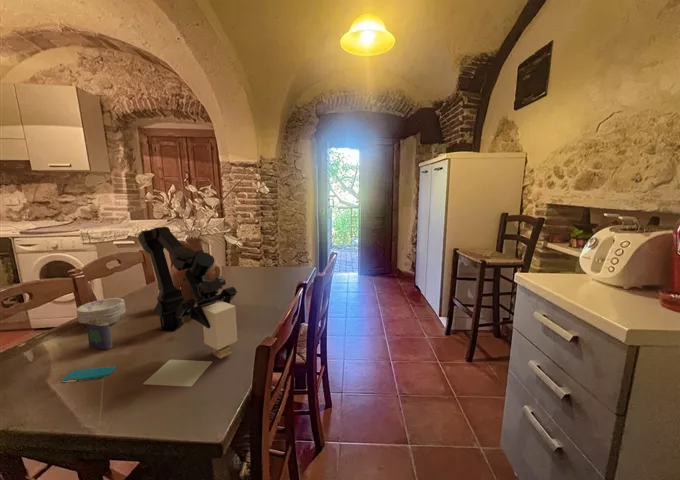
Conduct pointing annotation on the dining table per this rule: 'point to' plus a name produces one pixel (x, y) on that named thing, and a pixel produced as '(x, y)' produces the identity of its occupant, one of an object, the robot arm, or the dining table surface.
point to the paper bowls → (102, 310)
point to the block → (222, 351)
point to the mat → (178, 373)
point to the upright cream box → (220, 325)
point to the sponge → (89, 373)
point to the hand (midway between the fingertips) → (220, 323)
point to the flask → (99, 334)
